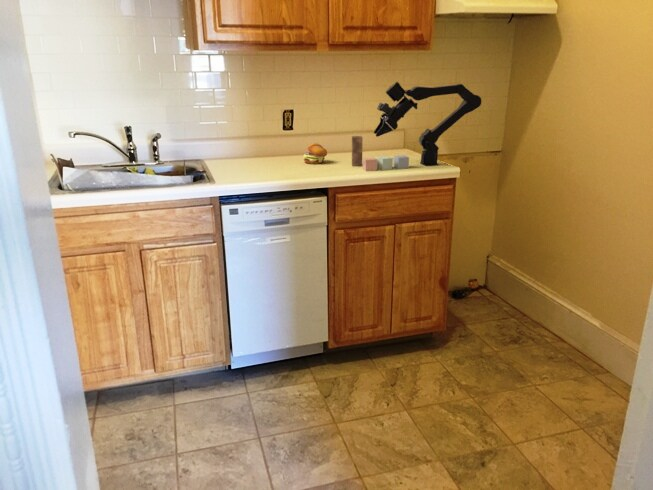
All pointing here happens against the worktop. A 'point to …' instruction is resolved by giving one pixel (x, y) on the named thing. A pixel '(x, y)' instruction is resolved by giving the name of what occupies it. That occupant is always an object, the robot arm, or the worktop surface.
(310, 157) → the cheeseburger
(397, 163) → the slate cube
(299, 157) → the worktop surface
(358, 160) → the walnut block
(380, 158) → the sage cube
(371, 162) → the terracotta cube
